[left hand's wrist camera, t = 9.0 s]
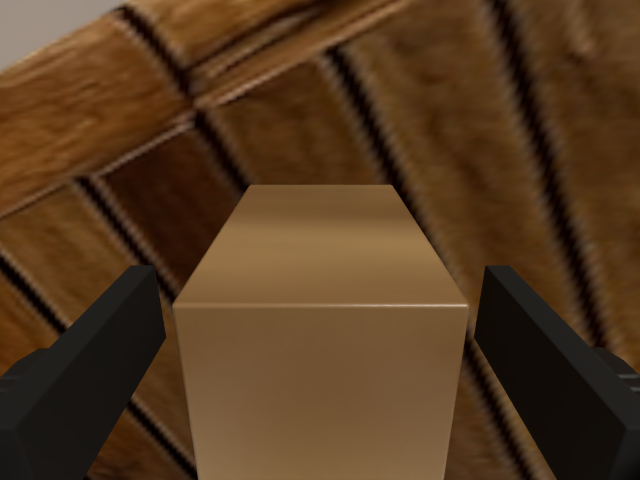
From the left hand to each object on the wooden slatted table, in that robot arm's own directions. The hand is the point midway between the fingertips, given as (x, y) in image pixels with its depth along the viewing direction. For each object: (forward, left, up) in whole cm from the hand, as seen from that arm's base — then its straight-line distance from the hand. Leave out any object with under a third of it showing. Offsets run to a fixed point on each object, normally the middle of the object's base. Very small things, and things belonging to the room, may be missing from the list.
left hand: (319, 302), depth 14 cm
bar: (-7, +4, -2) cm, 9 cm away
